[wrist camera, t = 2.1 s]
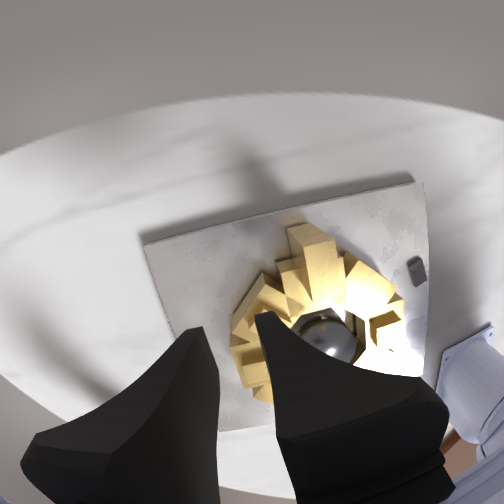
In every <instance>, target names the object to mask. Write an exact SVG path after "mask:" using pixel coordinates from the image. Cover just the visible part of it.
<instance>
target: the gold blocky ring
mask: <svg viewBox="0 0 504 504" xmlns="http://www.w3.org/2000/svg"><path fill="white" fill-rule="evenodd" d="M287 233H288V238H289V243H290V248H291V253H292V258H293V259H289V260H285V261H281V262H277V263H276V265H277V270H278V275H279V279H280V282H278V281H276V280H274V279H273V278H271V277H269V276H267V275H266V274H264V273H261V275H260V276H259V278H258V279H257V281H256V282H255V284H254V285H253V287H252V288H251V290H250V291H249V293H248V294H247V296H246V297H245V299H244V300H243V302H242V303H241V305H240V306H239V308H238V309H237V311H236V312H235V314H234V315H233V317H232V331H230V350H231V353H232V356H233V359H234V362H235V365H236V368H237V371H238V374H239V376H240V379H241V382H242V385H243V388H244V389H248V388H252V391H253V398H255V399H258V400H261V401H263V402H266V403H269V404H272V405H274V403H273V395H272V387H271V380H270V376H269V373H268V369H267V366H266V362H265V358H264V355H263V351H262V347H261V344H260V340H259V336H258V332H257V329H256V325H255V318H254V315H255V314H259V313H263V312H268V311H274V312H275V313H276V314H277V316H278V317H279V318H280V319H281V320H282V321H283V322H284V323H285V324H286V325H287V326H288V327H289V328H290V329H291V327H292V326H293V325H294V323H295V322H296V321H297V319H298V318H299V317H300V315H303V314H307V313H311V312H314V311H318V310H322V309H325V308H329V307H332V306H336V305H340V306H341V307H343V308H345V309H347V310H348V311H350V312H352V313H354V314H355V315H356V329H357V336H356V337H355V341H356V350H355V354H354V356H353V358H352V360H351V361H350V362H349V363H350V364H352V365H355V366H359V367H362V368H366V369H370V370H374V371H379V372H384V371H385V370H386V368H387V367H388V366H389V365H390V364H391V363H392V361H393V360H394V359H395V358H396V356H397V354H396V353H395V352H394V350H393V349H392V347H394V346H397V345H399V344H402V343H403V298H402V297H400V296H399V295H398V294H397V293H396V292H395V291H396V290H397V288H398V287H397V286H395V285H394V284H393V283H391V282H390V281H389V280H388V279H386V278H385V277H384V276H382V275H381V274H379V273H378V272H377V271H375V270H374V269H372V268H371V267H369V266H368V265H367V264H365V263H364V262H362V261H361V260H359V259H358V258H357V257H355V256H354V255H352V254H351V253H349V252H348V251H347V252H346V253H345V255H344V256H343V257H342V256H341V255H339V254H338V253H337V250H336V244H335V239H333V238H332V237H331V236H329V235H328V234H326V233H325V232H324V231H322V230H321V229H319V228H318V227H316V226H315V225H314V224H312V223H308V224H303V225H299V226H295V227H291V228H287Z"/></svg>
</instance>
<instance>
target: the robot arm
mask: <svg viewBox="0 0 504 504" xmlns="http://www.w3.org/2000/svg"><path fill="white" fill-rule="evenodd" d="M254 318H255V325H256V329H257V332H258V336H259V340H260V344H261V347H262V351H263V355H264V358H265V362H266V366H267V369H268V373H269V376H270V380H271V387H272V395H273V403H274V413H275V425H276V438H277V441H278V444H279V447H280V450H281V453H282V456H283V459H284V462H285V465H286V468H287V470H288V473H289V476H290V479H291V482H292V485H293V488H294V491H295V496H296V501H297V504H504V356H503V355H501V354H500V353H499V352H498V351H497V350H495V349H494V348H493V347H492V346H491V341H492V337H493V332H494V327H493V326H489V327H488V328H486V329H484V330H483V331H481V332H479V333H477V334H475V335H474V336H472V337H470V338H468V339H466V340H464V341H463V342H461V343H459V344H457V345H455V346H453V347H451V348H449V349H447V350H445V351H444V353H443V355H442V361H441V367H440V372H439V378H438V383H437V387H436V392H435V391H434V390H433V389H432V388H431V387H430V386H429V385H428V384H427V383H426V382H425V381H424V380H423V379H422V378H421V377H416V376H406V375H397V374H389V373H383V372H379V371H374V370H370V369H366V368H362V367H359V366H355V365H352V364H350V363H347V362H344V361H342V360H339V359H337V358H334V357H332V356H330V355H328V354H326V353H324V352H322V351H321V350H319V349H317V348H316V347H314V346H312V345H311V344H309V343H308V342H307V341H305V340H304V339H302V338H301V337H300V336H298V335H297V334H296V333H295V332H294V331H292V330H291V329H290V328H289V327H288V326H287V325H286V324H285V323H284V322H283V321H282V320H281V319H280V318H279V317H278V316H277V314H276V313H275V312H274V311H268V312H263V313H259V314H255V315H254ZM219 406H220V377H219V369H218V366H217V364H216V361H215V359H214V356H213V353H212V351H211V348H210V345H209V342H208V340H207V337H206V334H205V331H204V329H203V326H201V327H196V328H191V329H186V330H185V331H184V332H183V333H182V334H181V335H180V336H179V337H178V338H177V339H176V340H175V341H174V343H173V344H172V345H171V346H170V347H169V348H168V349H167V350H166V351H165V352H164V353H163V355H162V356H161V357H160V358H159V359H158V360H157V361H156V362H155V363H154V364H153V365H152V366H151V367H150V368H149V369H148V370H147V371H146V372H145V373H144V374H143V375H142V376H140V377H139V378H138V379H137V380H136V381H135V382H133V383H132V384H131V385H130V386H128V387H127V388H126V389H125V390H123V391H122V392H121V393H119V394H118V395H117V396H115V397H113V398H112V399H110V400H109V401H107V402H106V403H104V404H102V405H101V406H99V407H98V408H96V409H94V410H92V411H91V412H89V413H87V414H85V415H83V416H81V417H79V418H77V419H75V420H72V421H70V422H68V423H66V424H63V425H60V426H57V427H55V428H52V429H49V430H46V431H43V432H40V433H36V435H35V436H34V438H33V440H32V441H31V443H30V445H29V447H28V449H27V451H26V452H25V454H24V456H23V458H22V459H21V462H20V466H21V468H22V471H23V473H24V475H25V476H26V477H27V478H28V480H29V481H30V482H32V484H33V485H34V486H35V487H36V488H37V489H39V490H40V491H41V492H42V493H43V494H45V495H46V496H47V497H48V498H49V499H50V500H52V501H53V502H54V503H55V504H220V496H219V485H218V473H217V456H216V445H217V430H218V418H219ZM448 422H450V423H451V424H452V426H453V427H454V428H455V430H456V431H457V432H458V434H459V435H460V436H461V437H462V438H463V439H464V440H465V441H467V442H470V443H475V444H476V443H480V444H479V445H478V447H477V450H476V451H477V454H476V457H477V461H478V463H477V464H476V465H474V466H473V467H471V468H470V469H468V470H467V471H465V472H464V473H462V474H460V475H459V476H457V477H455V478H454V479H452V480H451V478H450V476H449V475H448V473H447V471H446V470H445V468H444V467H443V465H444V463H445V457H444V456H443V454H442V453H441V451H440V450H439V447H440V445H441V442H442V440H443V437H444V434H445V432H446V429H447V426H448ZM0 504H12V503H10V502H8V501H6V499H5V498H4V497H3V496H2V495H1V494H0Z"/></svg>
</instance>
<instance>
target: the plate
mask: <svg viewBox="0 0 504 504" xmlns="http://www.w3.org/2000/svg"><path fill="white" fill-rule="evenodd" d="M308 223H312V224H314V225H315V226H316V227H318V228H319V229H321V230H322V231H324V232H325V233H326V234H328V235H329V236H331V237H332V238H333V239H335V244H336V250H337V253H338V254H339V255H341V256H342V257H343V256H344V255H345V253H346V252H347V251H348V252H349V253H351V254H352V255H354V256H355V257H357V258H358V259H359V260H361V261H362V262H364V263H365V264H367V265H368V266H369V267H371V268H372V269H374V270H375V271H377V272H378V273H379V274H381V275H382V276H384V277H385V278H386V279H388V280H389V281H390V282H391V283H393V284H394V285H395V286H397V287H398V288H397V290H396V291H395V292H396V293H397V294H398V295H399V296H400V297H402V298H403V343H402V344H399V345H397V346H394V347H392V349H393V350H394V352H395V353H396V354H397V356H396V358H395V359H394V360H393V361H392V363H391V364H390V365H389V366H388V367H387V368H386V370H385V371H384V372H383V373H389V374H397V375H406V376H418V375H421V374H422V372H423V364H424V356H425V347H426V337H427V324H428V306H429V243H428V226H427V213H426V202H425V193H424V185H423V182H417V181H415V182H410V183H405V184H400V185H394V186H389V187H384V188H379V189H374V190H369V191H364V192H359V193H354V194H350V195H345V196H340V197H335V198H331V199H326V200H322V201H317V202H312V203H308V204H303V205H299V206H295V207H290V208H286V209H281V210H277V211H273V212H269V213H264V214H260V215H256V216H252V217H248V218H243V219H239V220H235V221H231V222H227V223H223V224H219V225H215V226H211V227H207V228H203V229H199V230H196V231H192V232H188V233H184V234H180V235H176V236H173V237H169V238H165V239H161V240H158V241H154V242H150V243H147V244H146V245H145V246H144V247H143V248H144V251H145V254H146V257H147V260H148V263H149V266H150V269H151V272H152V275H153V278H154V281H155V284H156V286H157V289H158V292H159V295H160V297H161V300H162V303H163V306H164V308H165V311H166V314H167V316H168V319H169V321H170V324H171V326H172V329H173V331H174V334H175V336H176V339H177V338H178V337H179V336H180V335H181V334H182V333H183V332H184V331H185V330H186V329H191V328H196V327H201V326H203V329H204V331H205V334H206V337H207V340H208V342H209V345H210V348H211V351H212V353H213V356H214V359H215V361H216V364H217V366H218V369H219V377H220V406H219V418H218V430H219V432H224V431H230V430H237V429H243V428H249V427H254V426H260V425H265V424H270V423H274V422H275V413H274V405H272V404H269V403H266V402H263V401H261V400H258V399H255V398H253V391H252V388H248V389H244V388H243V385H242V382H241V379H240V376H239V374H238V371H237V368H236V365H235V362H234V359H233V356H232V353H231V350H230V331H232V317H233V315H234V314H235V312H236V311H237V309H238V308H239V306H240V305H241V303H242V302H243V300H244V299H245V297H246V296H247V294H248V293H249V291H250V290H251V288H252V287H253V285H254V284H255V282H256V281H257V279H258V278H259V276H260V275H261V273H264V274H266V275H267V276H269V277H271V278H273V279H274V280H276V281H278V282H280V279H279V275H278V270H277V265H276V263H277V262H281V261H285V260H289V259H293V258H292V253H291V248H290V243H289V238H288V233H287V228H291V227H295V226H299V225H303V224H308ZM291 330H292V331H294V332H295V333H296V334H297V335H298V336H300V337H301V338H302V339H304V340H305V341H307V342H308V343H309V344H311V345H312V346H314V347H316V348H317V349H319V350H321V351H322V352H324V353H326V354H328V355H330V356H332V357H334V358H337V359H339V360H342V361H344V362H347V363H349V362H350V361H351V360H352V358H353V356H354V354H355V350H356V341H355V337H356V336H357V329H356V315H355V314H354V313H352V312H350V311H348V310H347V309H345V308H343V307H341V306H340V305H336V306H332V307H329V308H325V309H322V310H318V311H314V312H311V313H307V314H303V315H300V317H299V318H298V319H297V321H296V322H295V323H294V325H293V326H292V327H291Z"/></svg>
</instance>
